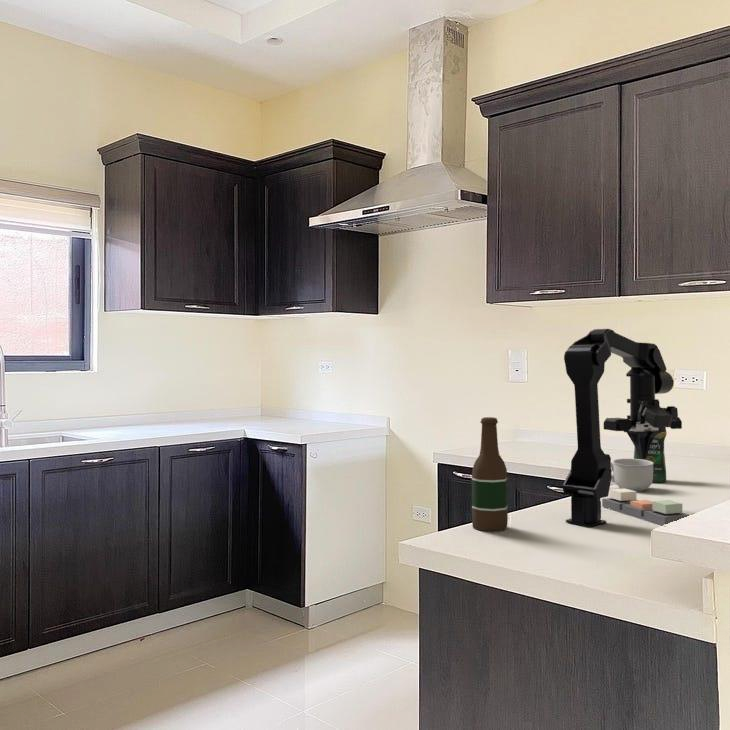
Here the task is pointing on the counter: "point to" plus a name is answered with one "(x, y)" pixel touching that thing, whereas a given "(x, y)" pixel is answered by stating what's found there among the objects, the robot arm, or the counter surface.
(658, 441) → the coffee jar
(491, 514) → the beer bottle
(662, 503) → the sage button
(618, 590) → the counter surface
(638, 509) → the button bank
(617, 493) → the cream button
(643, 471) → the teacup
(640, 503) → the terracotta button
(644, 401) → the robot arm
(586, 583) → the counter surface
